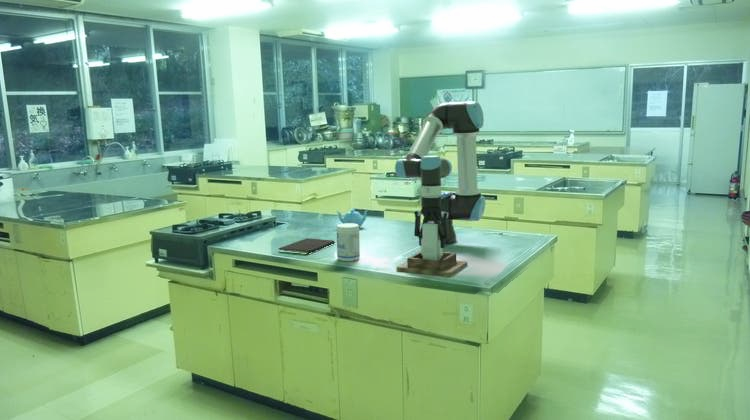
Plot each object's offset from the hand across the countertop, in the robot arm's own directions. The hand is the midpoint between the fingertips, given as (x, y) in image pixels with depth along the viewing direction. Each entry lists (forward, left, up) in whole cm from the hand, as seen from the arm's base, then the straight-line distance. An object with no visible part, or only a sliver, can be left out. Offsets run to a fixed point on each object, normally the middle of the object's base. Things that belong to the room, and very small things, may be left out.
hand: (432, 254), depth 210 cm
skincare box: (0, 0, -2) cm, 2 cm away
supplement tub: (-38, -1, -5) cm, 38 cm away
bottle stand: (0, 0, -5) cm, 5 cm away
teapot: (-73, +58, -5) cm, 93 cm away
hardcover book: (-67, +9, -6) cm, 68 cm away
